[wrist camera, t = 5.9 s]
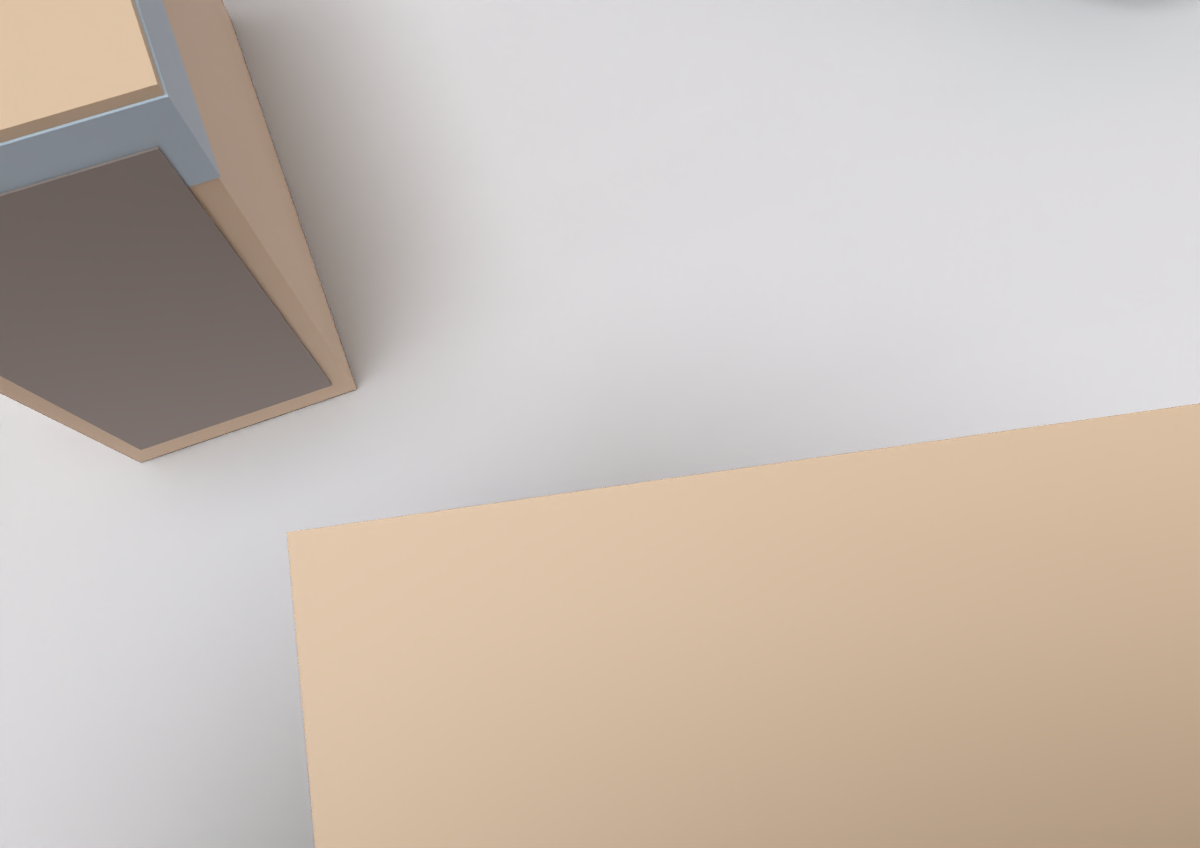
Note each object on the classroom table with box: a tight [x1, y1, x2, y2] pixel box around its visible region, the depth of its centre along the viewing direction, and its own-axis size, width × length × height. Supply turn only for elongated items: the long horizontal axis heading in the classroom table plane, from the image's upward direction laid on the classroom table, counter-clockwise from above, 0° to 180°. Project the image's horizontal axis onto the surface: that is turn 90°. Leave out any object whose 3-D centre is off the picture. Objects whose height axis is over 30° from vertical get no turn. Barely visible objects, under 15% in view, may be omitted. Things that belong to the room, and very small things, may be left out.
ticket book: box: [0, 0, 357, 463], centre depth 17 cm, size 9×5×12 cm, turn 21°
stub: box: [287, 404, 1200, 848], centre depth 9 cm, size 4×5×12 cm
